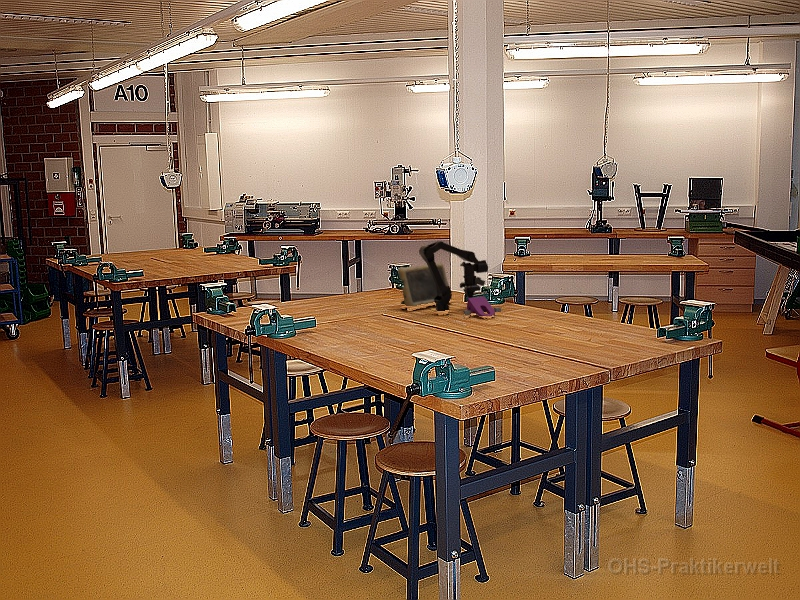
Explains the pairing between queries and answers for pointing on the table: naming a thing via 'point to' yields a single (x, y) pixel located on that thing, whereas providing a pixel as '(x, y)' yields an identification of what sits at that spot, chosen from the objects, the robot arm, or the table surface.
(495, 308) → the stop blocks
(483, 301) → the mounting bracket
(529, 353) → the table surface
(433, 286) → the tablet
